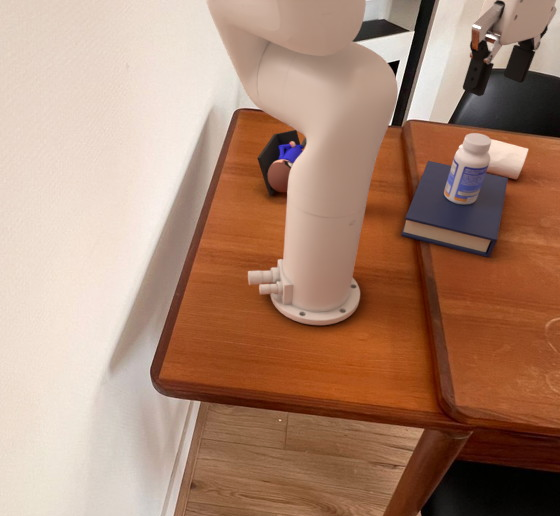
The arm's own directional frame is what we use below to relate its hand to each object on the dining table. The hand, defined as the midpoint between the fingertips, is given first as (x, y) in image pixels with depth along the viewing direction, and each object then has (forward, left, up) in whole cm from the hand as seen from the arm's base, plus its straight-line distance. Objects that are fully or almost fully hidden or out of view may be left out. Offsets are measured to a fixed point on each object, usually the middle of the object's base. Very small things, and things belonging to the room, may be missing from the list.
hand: (493, 85), depth 74 cm
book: (+1, 0, -21) cm, 21 cm away
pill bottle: (+1, 0, -18) cm, 18 cm away
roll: (+13, +14, -21) cm, 28 cm away
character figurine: (-26, +13, -21) cm, 36 cm away
